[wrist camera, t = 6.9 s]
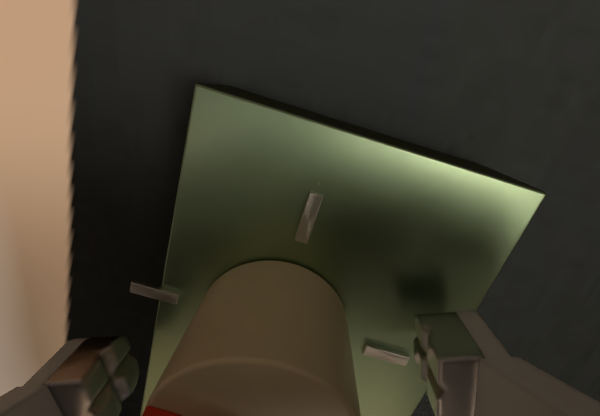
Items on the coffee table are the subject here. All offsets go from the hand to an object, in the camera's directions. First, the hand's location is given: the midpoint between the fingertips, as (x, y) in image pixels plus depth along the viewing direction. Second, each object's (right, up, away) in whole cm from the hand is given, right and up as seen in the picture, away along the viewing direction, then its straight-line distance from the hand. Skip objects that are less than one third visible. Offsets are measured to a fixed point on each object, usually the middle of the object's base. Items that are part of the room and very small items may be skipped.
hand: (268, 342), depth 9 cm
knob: (0, 0, +1) cm, 1 cm away
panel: (+1, +1, +4) cm, 4 cm away
